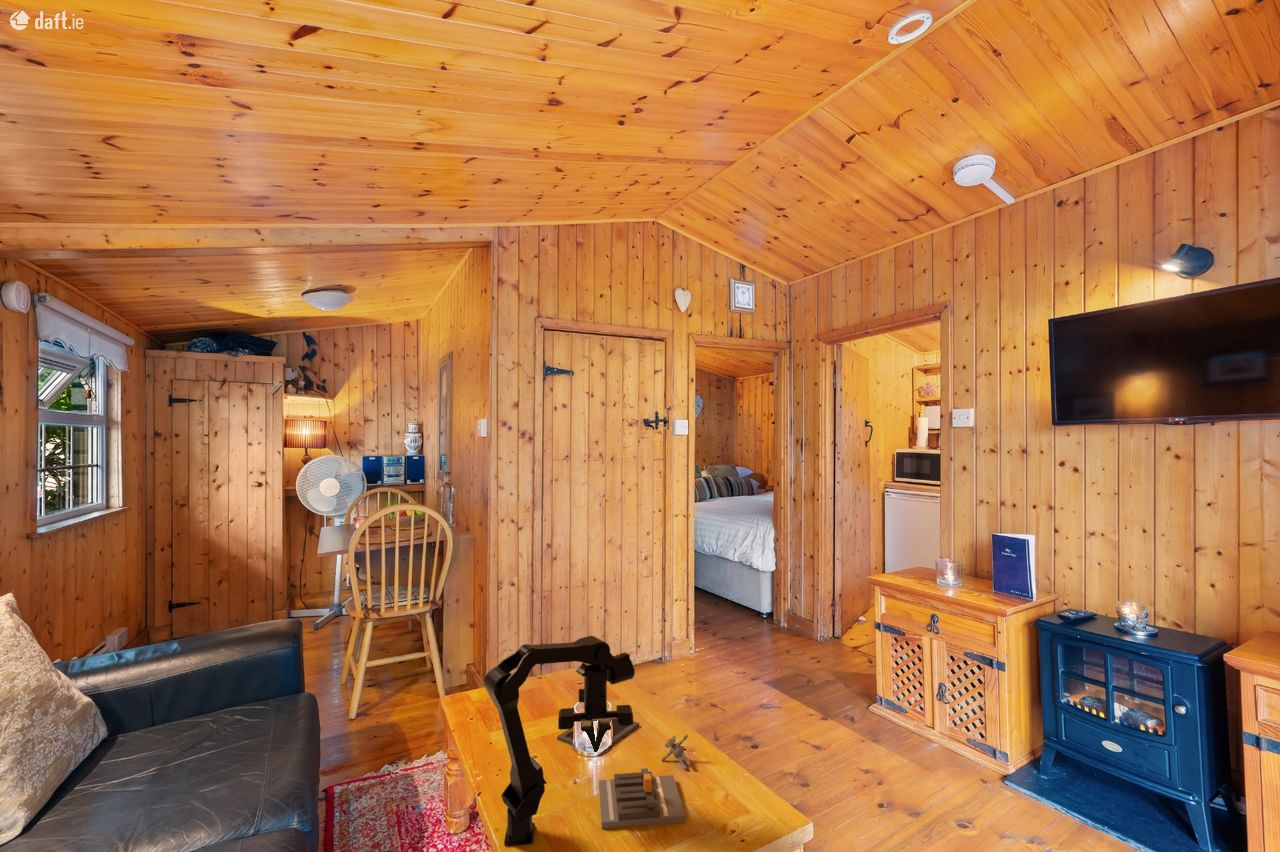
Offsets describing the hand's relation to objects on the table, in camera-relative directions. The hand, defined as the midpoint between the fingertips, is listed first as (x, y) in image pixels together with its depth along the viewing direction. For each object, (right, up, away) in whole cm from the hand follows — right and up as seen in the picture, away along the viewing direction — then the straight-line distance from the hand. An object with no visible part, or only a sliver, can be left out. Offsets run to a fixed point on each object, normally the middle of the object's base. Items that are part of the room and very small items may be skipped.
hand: (595, 750), depth 146 cm
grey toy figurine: (+23, -14, +18) cm, 32 cm away
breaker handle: (+13, -10, 0) cm, 16 cm away
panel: (+11, -13, -1) cm, 17 cm away
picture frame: (-2, -15, +35) cm, 38 cm away
